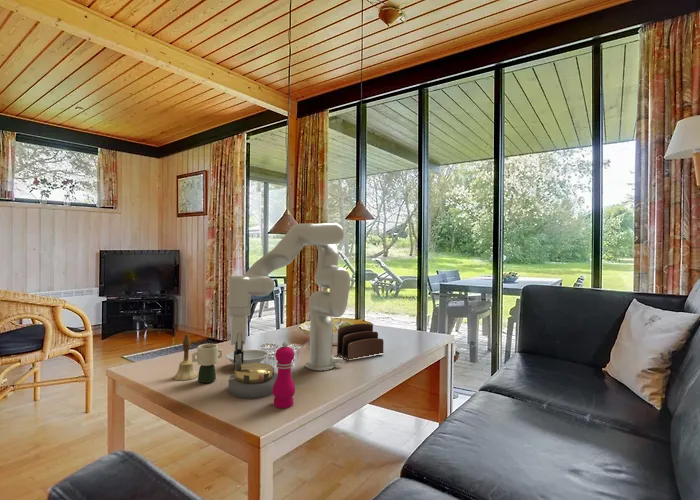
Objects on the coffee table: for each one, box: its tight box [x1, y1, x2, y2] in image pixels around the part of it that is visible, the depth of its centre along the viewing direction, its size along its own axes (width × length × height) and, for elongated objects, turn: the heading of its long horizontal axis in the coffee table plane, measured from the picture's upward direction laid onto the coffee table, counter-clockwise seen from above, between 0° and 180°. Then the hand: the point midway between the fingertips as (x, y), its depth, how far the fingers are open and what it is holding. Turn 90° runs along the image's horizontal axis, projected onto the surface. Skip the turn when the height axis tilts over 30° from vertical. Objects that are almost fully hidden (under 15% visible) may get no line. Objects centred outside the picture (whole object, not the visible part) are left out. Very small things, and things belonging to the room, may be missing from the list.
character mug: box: [191, 343, 223, 383], centre depth 143 cm, size 11×7×13 cm, turn 128°
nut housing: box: [228, 372, 278, 400], centre depth 137 cm, size 17×17×4 cm
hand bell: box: [173, 333, 198, 381], centre depth 147 cm, size 8×8×16 cm
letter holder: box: [336, 323, 385, 360], centre depth 182 cm, size 10×20×14 cm, turn 122°
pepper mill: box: [272, 341, 296, 409], centre depth 125 cm, size 7×7×20 cm
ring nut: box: [234, 353, 275, 384], centre depth 137 cm, size 13×13×8 cm
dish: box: [225, 349, 270, 365], centre depth 161 cm, size 18×14×5 cm
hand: (238, 362), depth 138 cm, fingers closed
